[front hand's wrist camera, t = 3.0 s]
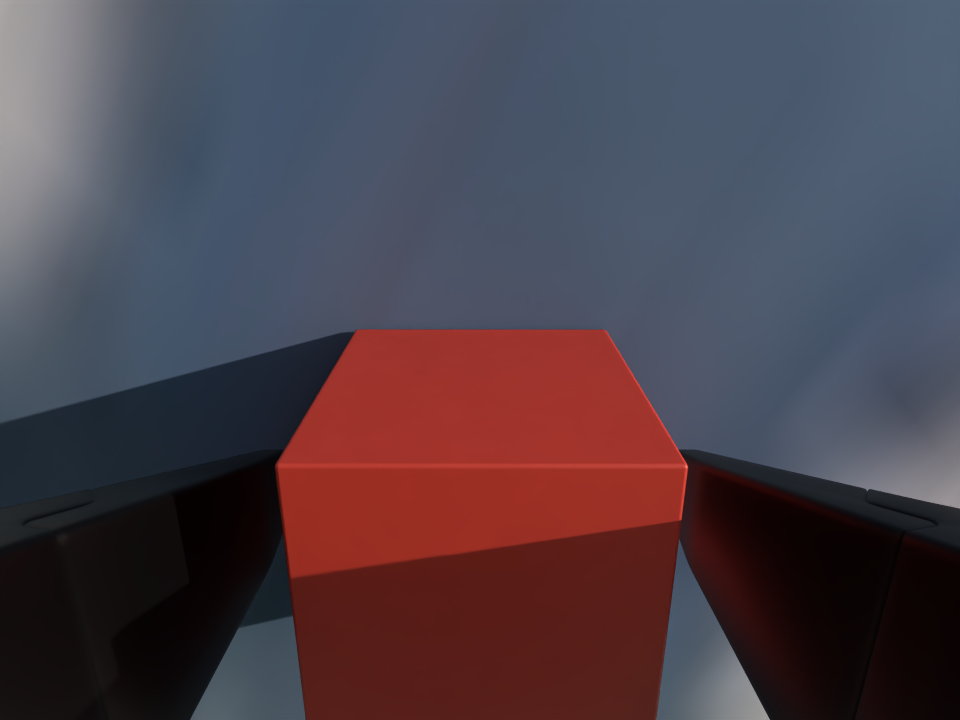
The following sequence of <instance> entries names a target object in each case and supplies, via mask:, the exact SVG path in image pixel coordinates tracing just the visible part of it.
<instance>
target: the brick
mask: <svg viewBox="0 0 960 720" xmlns="http://www.w3.org/2000/svg"><path fill="white" fill-rule="evenodd" d="M687 471H688V466H687V463H686V462H685V460H684V458H683V457H682V455H681V453H680V452H679V450H678V449H677V447H676V445H675V444H674V442H673V440H672V439H671V437H670V435H669V434H668V432H667V430H666V429H665V427H664V425H663V424H662V422H661V420H660V419H659V417H658V416H657V414H656V412H655V411H654V409H653V407H652V406H651V404H650V402H649V401H648V399H647V397H646V396H645V394H644V392H643V391H642V389H641V387H640V386H639V384H638V383H637V381H636V379H635V378H634V376H633V374H632V373H631V371H630V369H629V368H628V366H627V364H626V363H625V361H624V359H623V358H622V356H621V355H620V353H619V351H618V350H617V348H616V346H615V345H614V343H613V341H612V340H611V338H610V336H609V335H608V333H607V331H606V330H356V331H355V333H354V334H353V336H352V338H351V339H350V341H349V343H348V344H347V346H346V348H345V349H344V351H343V353H342V354H341V356H340V358H339V359H338V361H337V363H336V364H335V366H334V368H333V369H332V371H331V373H330V374H329V376H328V378H327V379H326V381H325V383H324V384H323V386H322V388H321V389H320V391H319V393H318V394H317V396H316V398H315V399H314V401H313V403H312V404H311V406H310V408H309V409H308V411H307V413H306V414H305V416H304V418H303V419H302V421H301V423H300V424H299V426H298V428H297V429H296V431H295V433H294V434H293V436H292V438H291V439H290V441H289V443H288V444H287V446H286V448H285V449H284V451H283V453H282V454H281V456H280V458H279V459H278V461H277V463H276V465H275V472H276V480H277V488H278V496H279V505H280V513H281V521H282V529H283V537H284V545H285V554H286V562H287V570H288V578H289V586H290V595H291V603H292V611H293V619H294V627H295V635H296V644H297V652H298V660H299V668H300V676H301V684H302V693H303V701H304V709H305V717H306V720H656V717H657V710H658V702H659V694H660V686H661V678H662V670H663V662H664V654H665V646H666V638H667V630H668V622H669V614H670V606H671V598H672V590H673V582H674V574H675V566H676V558H677V550H678V542H679V534H680V526H681V519H682V511H683V503H684V495H685V487H686V479H687Z"/></svg>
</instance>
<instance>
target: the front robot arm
mask: <svg viewBox="0 0 960 720" xmlns="http://www.w3.org/2000/svg"><path fill="white" fill-rule="evenodd" d="M283 451H284V450H261V451H256V452H252V453H248V454H243V455H239V456H235V457H230V458H226V459H222V460H217V461H213V462H209V463H204V464H200V465H196V466H191V467H187V468H183V469H178V470H174V471H170V472H165V473H161V474H157V475H152V476H148V477H144V478H139V479H135V480H131V481H126V482H122V483H118V484H113V485H109V486H105V487H100V488H96V489H94V490H93V491H92V490H91V489H88V490H84V491H79V492H75V493H70V494H66V495H61V496H57V497H52V498H48V499H43V500H39V501H34V502H30V503H25V504H20V505H15V506H11V507H6V508H1V509H0V720H190V719H191V717H192V715H193V713H194V711H195V709H196V707H197V705H198V703H199V702H200V700H201V698H202V696H203V694H204V692H205V690H206V688H207V686H208V684H209V683H210V681H211V679H212V677H213V675H214V673H215V671H216V669H217V667H218V665H219V664H220V662H221V660H222V658H223V656H224V654H225V652H226V650H227V648H228V646H229V645H230V643H231V641H232V639H233V637H234V635H235V633H236V631H237V629H238V627H239V626H240V624H241V622H242V620H243V618H244V616H245V614H246V612H247V610H248V608H249V607H250V605H251V603H252V601H253V599H254V597H255V595H256V593H257V591H258V590H259V588H260V586H261V584H262V582H263V580H264V578H265V576H266V574H267V572H268V570H269V568H270V566H271V563H272V561H273V558H274V556H275V553H276V550H277V547H278V545H279V542H280V539H281V536H282V533H283V529H282V521H281V513H280V505H279V496H278V488H277V480H276V472H275V465H276V463H277V461H278V459H279V458H280V456H281V454H282V453H283ZM679 452H680V453H681V455H682V457H683V458H684V460H685V462H686V463H687V466H688V471H687V479H686V487H685V495H684V503H683V511H682V519H681V526H680V534H679V539H680V542H681V545H682V548H683V550H684V553H685V556H686V559H687V561H688V564H689V566H690V568H691V570H692V572H693V574H694V576H695V578H696V580H697V582H698V584H699V586H700V588H701V590H702V592H703V593H704V595H705V597H706V599H707V601H708V603H709V605H710V607H711V609H712V610H713V612H714V614H715V616H716V618H717V620H718V622H719V624H720V626H721V628H722V629H723V631H724V633H725V635H726V637H727V639H728V641H729V643H730V645H731V647H732V648H733V650H734V652H735V654H736V656H737V658H738V660H739V662H740V664H741V666H742V667H743V669H744V671H745V673H746V675H747V677H748V679H749V681H750V683H751V685H752V686H753V688H754V690H755V692H756V694H757V696H758V698H759V700H760V702H761V704H762V705H763V707H764V709H765V711H766V713H767V715H768V717H769V719H770V720H960V509H959V508H954V507H949V506H945V505H940V504H935V503H930V502H926V501H921V500H917V499H912V498H908V497H903V496H899V495H894V494H890V493H885V492H881V491H876V490H872V489H869V490H868V491H867V490H866V489H864V488H860V487H855V486H851V485H847V484H842V483H838V482H834V481H829V480H825V479H821V478H816V477H812V476H808V475H803V474H799V473H795V472H790V471H786V470H782V469H777V468H773V467H769V466H764V465H760V464H756V463H751V462H747V461H743V460H738V459H734V458H730V457H725V456H721V455H717V454H712V453H708V452H704V451H699V450H679Z"/></svg>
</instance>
